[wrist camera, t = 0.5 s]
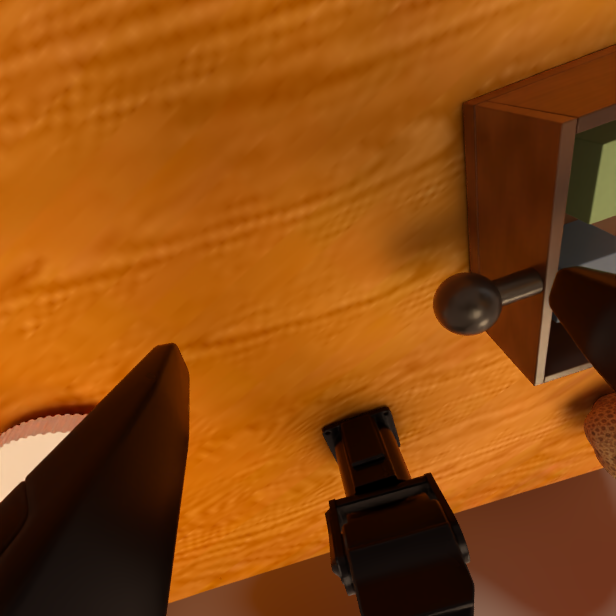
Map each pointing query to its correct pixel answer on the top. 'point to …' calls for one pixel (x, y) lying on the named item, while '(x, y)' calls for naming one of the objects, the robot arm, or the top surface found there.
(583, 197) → the sage block
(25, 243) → the top surface
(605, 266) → the slate block
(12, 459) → the plastic lid
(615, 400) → the natural sponge
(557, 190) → the bin
